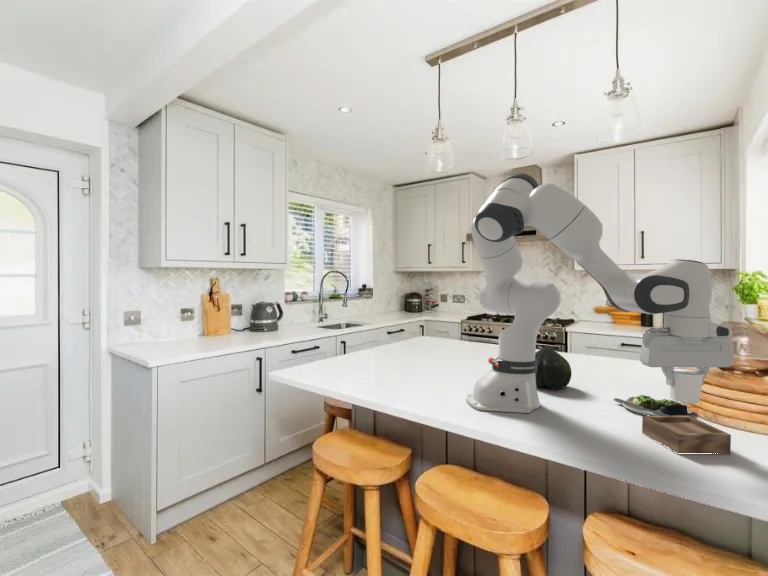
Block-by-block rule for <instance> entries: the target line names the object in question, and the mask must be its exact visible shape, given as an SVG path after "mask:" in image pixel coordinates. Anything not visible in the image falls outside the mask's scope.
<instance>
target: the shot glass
mask: <svg viewBox="0 0 768 576" xmlns="http://www.w3.org/2000/svg"><path fill="white" fill-rule="evenodd" d="M671 373H672V375H673V377H674V379H675V385H674V386H670V385H668V391H669V398H670V400H673V401H676V402H679V403H682V404H700V401H701V400H700V399H701V392H702V387H703V386H702V381H703V374H704V373H702V372H700V371H698V370H697V369H692V368H691V369H690V368H685V367H674V371H673V372H671Z"/></svg>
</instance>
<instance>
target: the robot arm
mask: <svg viewBox="0 0 768 576" xmlns="http://www.w3.org/2000/svg"><path fill="white" fill-rule="evenodd" d="M527 226H529V227H533V228H535V229H537V230H538V231H540V233H541V234H543V235H544V236H545V237H546V238H547V239H548V240H549V241H550V242H552V243H553V245H555V246H556V247H558V248H559V249H560V250H561V251H563V252H564V253H565V254H567V255H568V256H570V257H571V258H572V259H573V260H574V261H575V262H576V263H577V264H578V265H579V266H580V267H582V269H583V270H585V272H586V273H587V274H588V275H590V277H592V278H593V279H594V280H595V282H597V284H599V286H600V287H601V288H602V290H603V292H604V295H605V297H606V300H607V301H608V303H609V304H610V305H611V306H612V307H614V308H615V309H617V310H618V311H621V312H634V313H635V312H636V313H638V314H639V313H641V314H647V315H658V314H663V327H649V328H648V329H647V330H645V331H644V332H643V333H642V337H641V338H642V343H641V347H640V353H639V361H640V362H641V364H642V365H643V366H646V367H649V368H661V372H662V373H663V375H664V377H665V383H666V385H668V386H669V385H670V386H674V385H675V379H674V377H673V375H672V373H671V372H673V371H674V368H696V369H695V370H696V371H700V372H702V373H704V374H703V381H702V387H703V386H704V383H705V378H706V377H707V376H708V375H709V373H710V368H730V367H731V366H732V364H733V363H734V356H735V355H734V353H735V352H734V350H735V349H734V342H733V341H732V339H731V337H732V336H733V334H734V329H732V328H731V327H729V326H726V325H722V324H719V323H716V322H714V321H712V314H711V312H710V303H711V301H712V290H713V288H712V287H713V285H712V275H711V271H710V268H709V266H708V264H705V263H704V262H702V261H697V260H693V259H680V258H679V259H671V260H670V261H669V262H668V263H667V264H665V265H663V266H660V267H659V268H657V269H655V270H652V271H649V272H647V273H633V272H630V271H626V270H623V268H621V267H620V266H618V264H617V263H615V261H613V260H612V258H610V256H608V255H607V254H606V253H605V252H604V251H603V250H602V247H601V246H600V241H601V239H602V237H603V228H604V227H603V223H602V222H601V221H600V219H599V218H598V216H597V215H596V214H595V213H594V212H593V211H592V210H591V209H590V208H589V207H588V206H587V205H585V204H584V203H583V202H582V201H580V200H579V199H578V198H576V196H574V195H573V194H571V193H570V192H568V191H567V190H565V189H564V188H562V187H560V186H558V185H557V184H554V183H549V182H548V183H547V182H546V183H543V184H540V185H539V183H538V182H537V180H536V179H535V178H534V177H533V176H531V175H529V174H527V173H521V172H520V173H515V174H513V175H511V176H509V177H507V178H506V179H505V180H503V181H502V183H501V184H500V185H499V186H497V187H496V188H495V189H494V190H493V191H492V193H491V194H490V195H489V197H488V198H487V199H486V201H485V203H484V204H483V205H482V206H481V207H480V208H479V209H478V211H477V214H476V216H475V217H474V218H473V220H472V222H471V225H470V229H471V230H470V231H471V235H472V240H473V243H474V247H475V250H476V252H477V254H478V257H479V259H480V261H481V263H482V266H483V269H484V270H485V275H486V281H485V282H484V283H483V285H482V286H481V288H480V289H479V294H478V298H479V299H478V301H479V303H480V305H481V306H482V308H483V309H485V310H487V311H490V312H492V313H496V314H504V315H514V319H513V322H512V324H511V325H509V326H507V327H505V328H503V329H502V330H501V331H500V333H499V334H498V356H497V357H496V358H493V357H492V356H490V357H488V359H487V362H488V364H490V365H492V366H491V368H492V369H490V370H489V371H487V372H486V373H485V374H483V375H481V376H480V377H479V378H478V379H476V381H475V382H474V387H473V392H471V393H467V395H466V397H465V398H466V399H465V400H466V402H467V404H468V405H469V406H470V407H472V408H473V409H475V410H478V411H489V412H503V413H505V412H506V413H523V414H524V413H525V414H531V412H532V411H534V410H536V409H538V408H540V407H541V403H540V402H541V401H540V398H539V394H538V387H536V376H537V360H536V359H535V353H536V352H537V351H536V347H537V339H538V338H537V337H538V333H539V330H540V329H541V326H542V325H543V323H544V322H545V321H546V320H547V319H548V318H549V317H551V316H552V315H553V314H555V312H557V311H558V308H559V307H560V304H561V293H560V290H559V289H558V287H557V286H556V285H555V284H554V283H551V282H547V281H543V280H539V279H534V280H533V279H517V278H515V276H516V275H517V274H518V273H519V272H520V271H521V269H522V267H523V263H524V262H523V257H522V254H521V251H520V248H519V247H518V244H517V241H516V239H515V236H516V235H519V234H522V233H523V232H524V229H525V227H527Z"/></svg>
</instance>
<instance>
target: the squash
mask: <svg viewBox="0 0 768 576" xmlns="http://www.w3.org/2000/svg"><path fill="white" fill-rule="evenodd" d="M535 359H536V360H537V376H536V387H537V388H543V387H544V388H545V387H548V388H551V389H552V390H555V391H558V390H561V389H562V388H565V387H567V386H568V385H569V383H570V381H571V378H572V368H571V364H570V363H569V362H568V360H567V359H566V358H564V356H563V355H561V354H560V353H558V351H555V350H554V349H552V348H551V347H549V346H547V345H546V346H544V347H542V348H540V349H539V350H537V351H535Z"/></svg>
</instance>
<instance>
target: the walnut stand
mask: <svg viewBox="0 0 768 576" xmlns="http://www.w3.org/2000/svg"><path fill="white" fill-rule="evenodd" d="M641 421H642V422H641V423H642V424H641V425H642V426H641V427H642V428H641V434H643V433H644V434H646V435H647V436H646V435H645V436H646V437H648V436H649V437H651V438H652V439H651V438H650V439H651V440H653V439H654V440H656V441H658V442H660V443H662V444H663V445H665V446H667V447H669V448H670V449H672V450H674V451H675V452H677V453H712V454H711V455H731V448H732V447H731V445H732V444H731V443H732V442H731V441H732V434H731V433H727V432H725V431H723V430H721V429H719V428H717V427H715V426H712V425H710V424H708V423H705V422H704V421H701V420H699V419H697V418H694V417H693V416H691V417H690V416H645V415H642V420H641ZM644 434H643V435H644ZM649 437H648V438H649ZM654 440H653V441H654ZM656 441H655V442H656ZM658 442H657V443H658ZM663 445H662V446H663ZM713 453H714V454H713ZM715 453H716V454H715ZM717 453H718V454H717Z"/></svg>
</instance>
